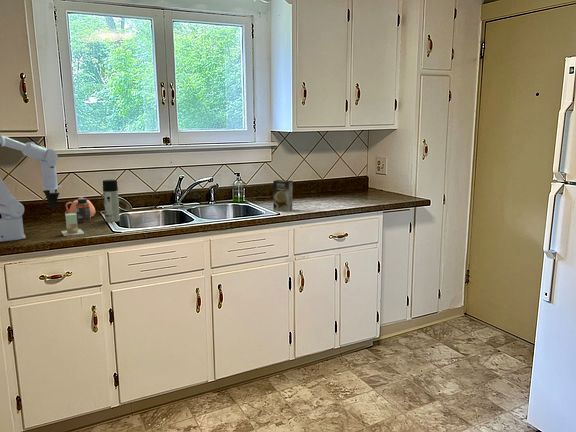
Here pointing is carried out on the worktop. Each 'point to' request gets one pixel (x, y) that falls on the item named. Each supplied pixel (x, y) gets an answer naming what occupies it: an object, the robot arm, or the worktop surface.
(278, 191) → the coffee box
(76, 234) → the baseplate
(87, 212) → the supplement bottle
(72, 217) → the sage brick
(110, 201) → the spray can
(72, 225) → the beech brick
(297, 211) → the worktop surface
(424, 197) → the worktop surface
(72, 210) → the sugar bowl
